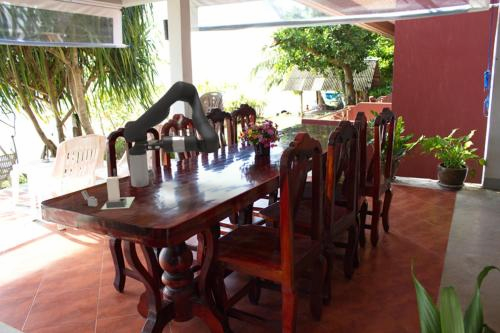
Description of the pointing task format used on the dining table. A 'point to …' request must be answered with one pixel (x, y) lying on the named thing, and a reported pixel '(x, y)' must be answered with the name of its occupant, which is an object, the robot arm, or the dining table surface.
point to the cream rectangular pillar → (113, 188)
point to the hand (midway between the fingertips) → (137, 145)
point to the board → (119, 203)
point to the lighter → (89, 199)
